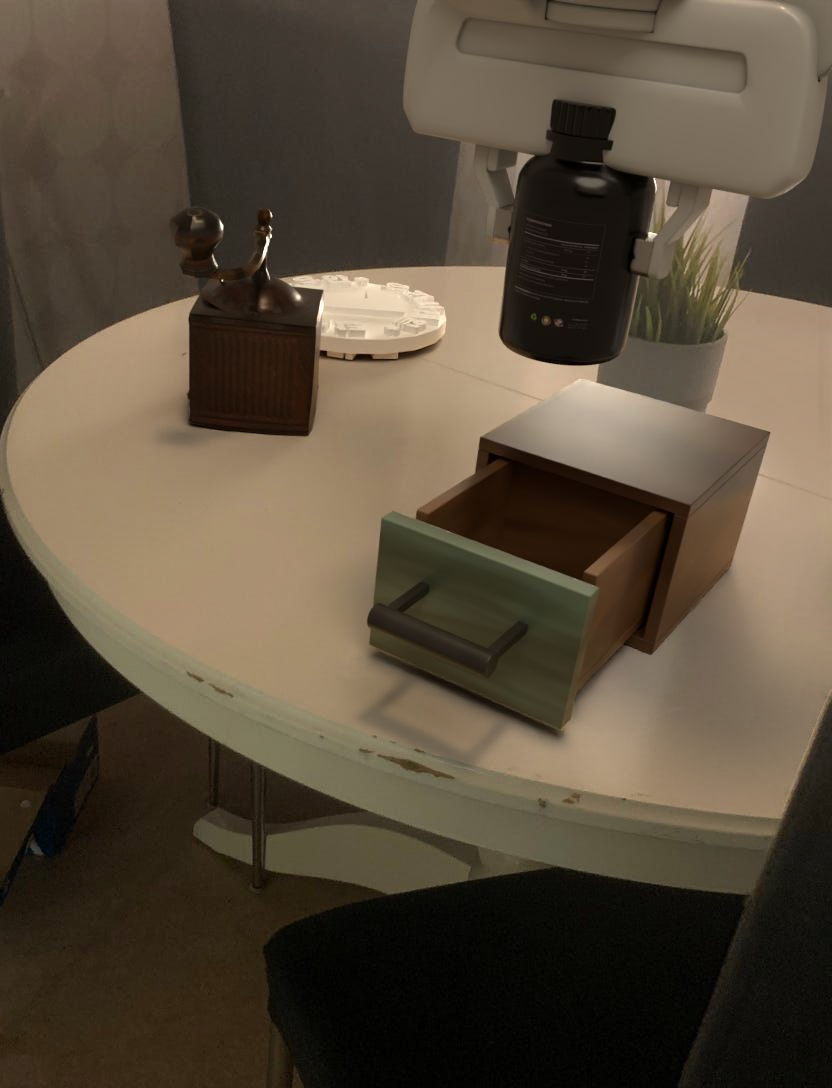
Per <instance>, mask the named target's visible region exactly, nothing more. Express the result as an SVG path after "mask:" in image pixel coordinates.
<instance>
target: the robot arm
mask: <svg viewBox="0 0 832 1088" xmlns="http://www.w3.org/2000/svg"><path fill="white" fill-rule="evenodd" d="M831 73H832V0H417V2H416V5H415V7H414V12H413V18H412V22H411V28H410V34H409V39H408V46H407V53H406V61H405V70H404V79H403V89H402V90H403V91H402V92H403V93H402V106H403V111H404V113H405V116H406V118H407V121H408V122H409V125H410V126H411V129H412V130H413V131H414V133H416V134H419V135H425V136H431V137H436V138H440V139H446V140H451V141H457V142H463V143H468V144H473V145H475V147H474V156H473V161H472V162H473V164H472V169H473V173H474V175H475V177H476V182H477V183H478V187H479V188H480V192H481V195H482V198H483V200H484V203H485V205H486V206H487V213H486V214H487V215H486V222H485V230H484V238H485V240H486V241H488V242H491V243H496V244H501V245H505V246H506V245H507V246H509V239H510V231H511V224H512V216H513V208H514V201H515V194H514V192H513V188H512V184H511V181H510V176H509V174H508V173H509V172H508V170H507V169H510V168H513V167H515V166H517V163H518V155H519V153H520V154H521V153H522V154H525V155H531V156H535V155H536V156H542V155H546V154H549V153H550V150H551V147H552V143H553V142H552V141H549V140H547V139H546V132H547V129H548V130H552V129H551V127H550V120H551V109H552V103H553V100H554V99H561V100H567V101H574V102H580V103H587V104H593V105H600V106H606V107H611V108H615V109H616V116H615V121H614V124H613V126H612V129H611V131H610V134H609V137H608V140H613V146H612V150H603V161H604V163H605V164H606V165H607V166H609V167H611V168H613V169H615V170H617V171H620V172H625V173H631V174H636V175H641V176H647V177H652V178H654V179H657V180H662V181H668V182H669V187H668V191H667V195H666V202H665V204H666V206H667V207H671V208H676V209H675V211H674V212H673V213H672V215H671V216H670V217H669V218H668V220H667V221H666V222H665V223H664V225H663V226H661V228H660V229H659V230H658V232H657V233H653V232H648V234H646V235H645V236H641V237H638V238H636V241H635V245H634V250H633V253H634V256H635V258H634V259H633V260H632V261H631V265H630V272H631V274H634V275H638V276H640V277H643V278H647V279H651V280H655V281H660V280H662V279H664V278H667V276H668V275H669V273H670V271H671V269H672V266H673V261H674V256H675V252H676V247H677V243H678V240H680V239H681V238H682V237H683V236H684V235H685V234H686V233H687V231H688V230H689V229H690V228H691V227H692V225H694V223H695V222H696V221H697V220H698V219H699V217H701V215H702V214H703V213H704V212H705V210H707V208H708V207H709V206H710V202H711V198H712V193H713V190H715V191H721V192H727V193H732V194H737V195H742V196H747V197H752V198H758V199H765V200H766V199H773V198H777V197H780V196H781V195H784V194H786V193H788V192H789V191H791V190H792V189H794V188H795V187H796V186H798V185H799V184H801V182H803V181H804V180H805V179H806V178H807V176H808V175H809V174H810V172H811V170H812V168H813V164H814V161H815V157H816V153H817V147H818V143H819V139H820V133H821V130H822V129H821V128H822V122H823V116H824V111H825V105H826V104H825V103H826V97H827V90H828V81H829V74H831Z"/></svg>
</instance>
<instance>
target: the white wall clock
mask: <svg viewBox="0 0 832 1088" xmlns="http://www.w3.org/2000/svg"><path fill="white" fill-rule="evenodd" d="M369 282H370V279H369V278H368V277H365V276H359V277H357V276H356V277H354V279H353V280H349V276H347V275H343V274H335V275H331V274H327V275H325V274H324V275H322V276H321V279H319V278H315V279H314V277H313V276H310V275H302V276H297V277H293V278H292V281H291V282H288V284H289V285H291V286H293V287H302V288H312V289H321V290H324V305H323V312H322V327H321V341H320V351H326V356H327V357H332V358H338V359H344V358H345V360H351V361H352V360H354V359H355V357H356V356H357V355H370V357H371V358H372V359H374V360H382V359H383V360H386V359H387V360H389V359H390V360H391V359H393V360H395V359H399V353H404V352H413V351H416V350H419V349H423V348H425V347H429V346H431V345H434V344H436V343H438V341H439V340H440V339H441V338H442V337H443V336H444V335H445V334H446V327H447V317H446V311H445V307H444V306H443V305H440V302H438V301H435V296H434V295H431V294H428V293H426V292H424V291H422V290H419V289H416V290H413V291H409V290H410V286H409V285H406V284H402V283H398V282H387V283H386V284H380V283H379V284H378V283H369Z"/></svg>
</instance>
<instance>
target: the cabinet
mask: <svg viewBox="0 0 832 1088" xmlns="http://www.w3.org/2000/svg"><path fill="white" fill-rule="evenodd" d="M770 437H771V431H770V430H766V429H762V428H759V427H755V426H751V425H748V424H744V423H741V422H737V421H735V420H730V419H726V418H723V417H720V416H716V415H713V414H709V413H706V412H703V411H698V410H695V409H692V408H687V407H685V406H681V405H677V404H675V403H671V402H667V401H663V400H660V399H657V398H653V397H649V396H647V395H642V394H639V393H636V392H631V391H628V390H624V389H621V388H618V387H614V386H610V385H607V384H604V383H600V382H596V381H593V380H589V379H586V378H582V377H581V378H579V379H577V380H576V381H573V382H572V383H570V384H568V385H567V386H565V387H563V388H562V389H560V390H558V391H557V392H555V393H553V394H551V395H549V396H548V397H545V399H543V400H541V401H539V402H538V403H536V404H534V405H532V406H531V407H529V408H528V409H526V410H524V411H522V412H520V413H518V414H517V415H515V416H514V417H512V418H510V419H509V420H506V421H505V422H503V423H502V424H500V425H497V427H495V428H492V430H489V431H487V432H486V433H485V434H483V435H481V436H480V437H479V441H478V449H477V456H476V461H475V470H474V474H475V473H476V472H478V471H480V470H481V469H483V468H484V467H486V466H487V465H489V464H491V463H492V462H494V461H495V460H497V459H499V458H500V457H505V458H508V459H511V460H514V461H517V462H520V463H523V464H526V465H529V466H532V467H535V468H538V469H541V470H544V471H547V472H550V473H553V474H556V475H559V476H562V477H565V478H569V479H572V480H575V481H578V482H581V483H584V484H587V485H590V486H593V487H596V488H599V489H602V490H605V491H608V492H611V493H614V494H617V495H620V496H623V497H626V498H629V499H632V500H635V501H638V502H641V503H644V504H647V505H650V506H653V507H656V508H659V509H662V510H665V511H668V512H671V513H674V515H673V519H672V523H671V527H670V531H669V535H668V539H667V543H666V546H665V550H664V554H663V558H662V562H661V566H660V570H659V574H658V578H657V582H656V586H655V589H654V593H653V597H652V601H651V605H650V609H649V613H648V617H647V619H646V620H645V621H644V622H643V623H642V624H641V625H640V627H639V628H638V629H637V630H636V631H635V632H634V633H633V634H632V635H631V636H630V637H629V638H628V639H627V640H626V641H625V642H624V643H623V644H624V645H626V646H629V647H632V648H635V649H636V650H639V651H641V652H644V653H646V654H649V655H652V654H653V653H654V652H655V651H656V650H657V649H658V648H659V647H660V646H661V644H662V643H663V642H664V641H665V640H666V639H667V638H668V637H669V636H670V635H671V633H672V632H673V631H674V630H675V629H676V628H677V627H678V625H679V624H680V623H681V622H682V621H683V620H684V619H685V618H686V616H688V615H689V614H690V612H691V611H692V610H693V609H694V608H695V607H696V606H697V605H698V604H699V602H700V601H701V600H702V599H703V598H704V597H705V596H706V594H707V593H708V592H709V591H710V590H711V589H712V588H713V587H714V586H715V584H716V583H717V582H718V581H719V580H720V579H721V578H722V577H723V576H724V575H725V573H726V572H727V571H728V570H729V569H730V568H731V567H732V564H733V561H734V557H735V554H736V551H737V547H738V544H739V539H740V537H741V534H742V530H743V527H744V523H745V520H746V516H747V513H748V510H749V507H750V506H749V505H750V504H751V499H752V497H753V493H754V490H755V487H756V483H757V480H758V477H759V473H760V470H761V465H762V463H763V460H764V456H765V453H766V449H767V445H768V442H769V439H770Z"/></svg>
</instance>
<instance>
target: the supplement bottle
mask: <svg viewBox="0 0 832 1088" xmlns="http://www.w3.org/2000/svg"><path fill="white" fill-rule="evenodd" d="M615 116H616V109H615V108H611V107H606V106H600V105H593V104H587V103H580V102H574V101H567V100H561V99H554V100H553V103H552V109H551V120H550V127H551V129H552V130H548V129H547V132H546V139H547V140H549V141H552V142H553V143H552V147H551V150H550V153H549V154H546V155H542V156H536V155H532V156H531V157H530V158H529V159H528V160H526V162H525V163H524V165H523V166H522V168H521V169H520V170H519V173H518V176H517V181H516V186H515V194H514V199H515V201H514V208H513V216H512V224H511V231H510V239H509V245H508V246H507V247H508V248H507V255H506V264H505V271H504V278H503V287H502V294H501V301H500V308H499V319H498V328H497V329H498V330H497V331H498V332H497V333H498V337H499V339H500V342H501V343H502V344H503V345H504V346H505V347H506V348H507V349H508V350H510V351H511V352H513V353H514V354H516V355H518V356H521V357H523V358H527V359H529V360H533V361H536V362H540V363H541V362H542V363H545V364H550V365H559V366H570V367H571V366H572V367H573V366H574V367H582V366H583V367H584V366H587V367H588V366H595V365H602V364H605V363H609V362H611V361H613V360H615V359H616V358H618V357H619V356H620V355H621V354H622V353H623V351H624V350H625V348H626V345H627V342H628V337H629V331H630V327H631V323H632V318H633V317H632V316H633V312H634V307H635V303H636V298H637V291H638V287H639V282H640V277H641V276H638V275H634V274H631V272H630V265H631V261H632V260H633V259H634V258H635V256H634V253H633V250H634V245H635V241H636V238H638V237H641V236H645V235H646V234H648V233H650V232H649V231H650V226H651V222H652V216H653V212H654V207H655V202H656V195H657V183H656V180H655V179H656V178H652V177H647V176H641V175H636V174H631V173H625V172H620V171H617V170H615V169H613V168H611V167H609V166H607V165H606V164H605V163H604V161H603V150H612V146H613V140H608V137H609V134H610V131H611V129H612V126H613V124H614V121H615Z"/></svg>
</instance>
